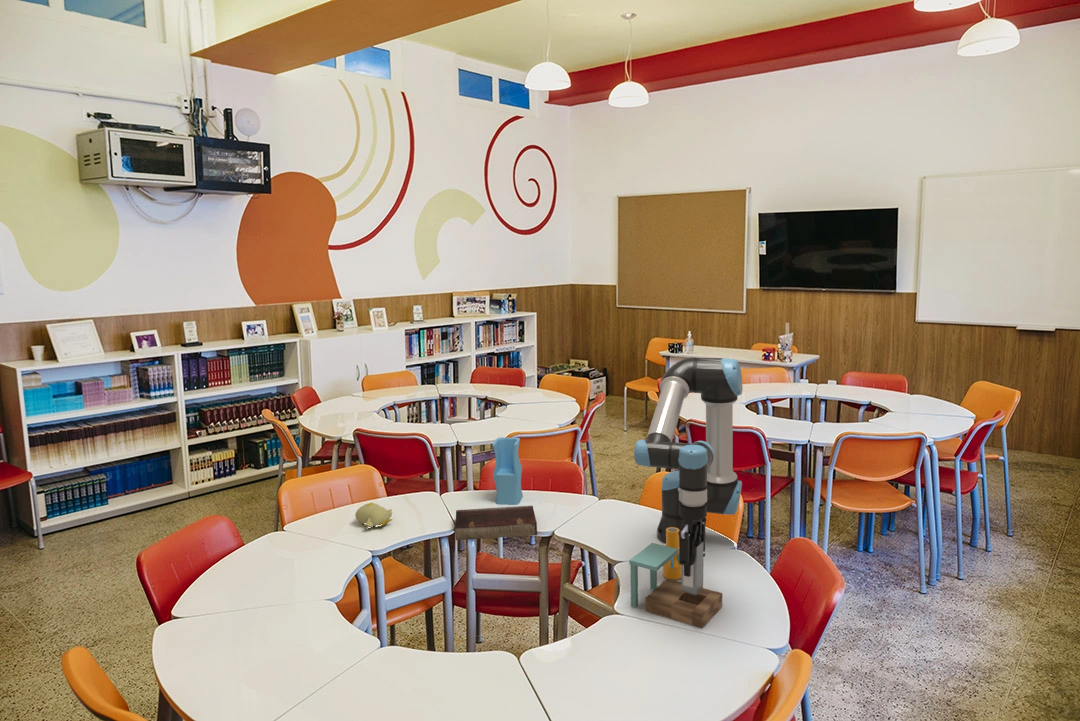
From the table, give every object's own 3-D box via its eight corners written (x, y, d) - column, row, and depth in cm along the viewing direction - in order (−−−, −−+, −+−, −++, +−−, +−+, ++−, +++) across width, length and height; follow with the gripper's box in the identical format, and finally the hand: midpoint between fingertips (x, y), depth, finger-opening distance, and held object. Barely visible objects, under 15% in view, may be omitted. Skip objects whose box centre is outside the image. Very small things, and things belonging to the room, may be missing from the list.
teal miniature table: (652, 586, 217) (652, 542, 215) (678, 594, 212) (678, 549, 210) (629, 606, 206) (629, 560, 204) (656, 614, 201) (656, 567, 199)
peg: (703, 589, 202) (703, 541, 200) (696, 595, 198) (696, 547, 196) (688, 584, 205) (688, 538, 202) (681, 591, 201) (681, 543, 199)
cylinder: (689, 585, 217) (690, 538, 215) (654, 583, 219) (654, 536, 217) (689, 568, 229) (690, 523, 227) (656, 566, 231) (656, 521, 229)
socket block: (667, 591, 214) (667, 578, 214) (722, 606, 205) (722, 593, 204) (645, 611, 203) (645, 597, 203) (702, 628, 193) (702, 614, 193)
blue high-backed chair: (494, 504, 290) (491, 443, 286) (499, 495, 300) (497, 437, 296) (518, 504, 289) (516, 444, 285) (523, 496, 298) (521, 437, 294)
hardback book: (532, 516, 277) (532, 504, 276) (537, 536, 258) (536, 522, 258) (456, 521, 274) (456, 508, 274) (455, 541, 256) (455, 528, 255)
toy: (373, 518, 261) (343, 504, 268) (372, 539, 264) (343, 525, 271) (400, 502, 274) (371, 490, 280) (399, 523, 276) (370, 510, 283)
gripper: (693, 490, 207) (692, 567, 210) (666, 509, 193) (666, 591, 196) (718, 495, 202) (717, 573, 206) (692, 515, 188) (691, 598, 192)
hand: (692, 582), depth 201 cm, fingers closed on peg, 4 cm apart
